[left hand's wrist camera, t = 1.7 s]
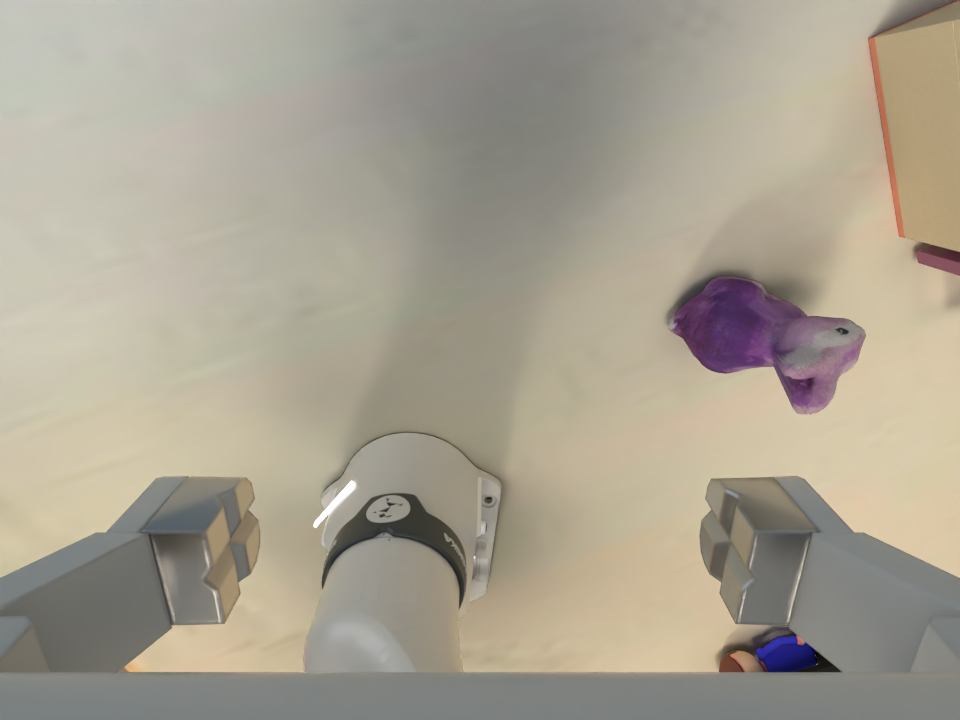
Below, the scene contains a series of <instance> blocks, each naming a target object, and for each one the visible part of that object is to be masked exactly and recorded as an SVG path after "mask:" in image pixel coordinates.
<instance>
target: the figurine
mask: <svg viewBox="0 0 960 720" xmlns="http://www.w3.org/2000/svg"><path fill="white" fill-rule="evenodd" d="M668 328H669V330H670V331H671V332H673V333H674V334H676V335H678V336H680V337H682V338H683V339H684V340H685V342H686V343H687V345H688V347H689V348H690V350H691V352H692V354H693V355H694V356H695V357H696V358H697V359H698V360H699V361H700V362H701V364H702V365H703V366H705V367H706V368H707V369H709V370H711V371H714V372H718V373H732V372H737V371H741V370H744V369H749V368H756V367H774V368H775V370H776V372H777V374H778V377H779V379H780V381H781V383H782V385H783V387H784V390H785V392H786V394H787V396H788V398H789V401H790V403H791V405H792V407H793V409H794V410H795V411H796V413H798V414H812V413H817V412H819V411H821V410H822V409H824V408H825V407H826V406H827V405H828V404H829V403H830V401H831V400H832V398H833V396H834V393H835V390H836V385H837V381H838V378H839V376H840V375H841V374H843V373H845V372H847V371H848V370H850V369H851V368H852V367H853V366H854V365H855V364H856V362H857V360H858V357H859V353H860V350H861V347H862V344H863V342H864V339H865V337H866V334H865V331H864V329H862V328H861V327H860V326H858V325H856V324H855V323H854V322H853V321H851V320H849V319H844V318H830V317H820V316H807V315H806V314H805V313H804V312H803V311H802V310H801V309H800V308H798V307H797V306H796V305H794V304H792V303H790V302H787V301H784V300H779V299H778V298H777V297H775V296H773V295H771V294H768V293H767V291H766V289H765V287H764V286H763V285H762V284H761V283H759V282H757V281H753V280H749V279H745V278H744V279H743V278H739V277H730V276H720V277H717V278H714V279H712V280H711V281H710V282H709V283H708V284H707V285H706V286H705V288H704V290H703V291H702V292H701V293H700V294H699V295H697V296H695V297H694V298H692V299H690V300H689V301H688V302H687V303H686V304H685V305H683V306H682V307H681V308H680V309H679V310H677V311H676V312H675V313H674V315H673V316H672V318H671V320H670V322H669V325H668Z"/></svg>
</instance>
